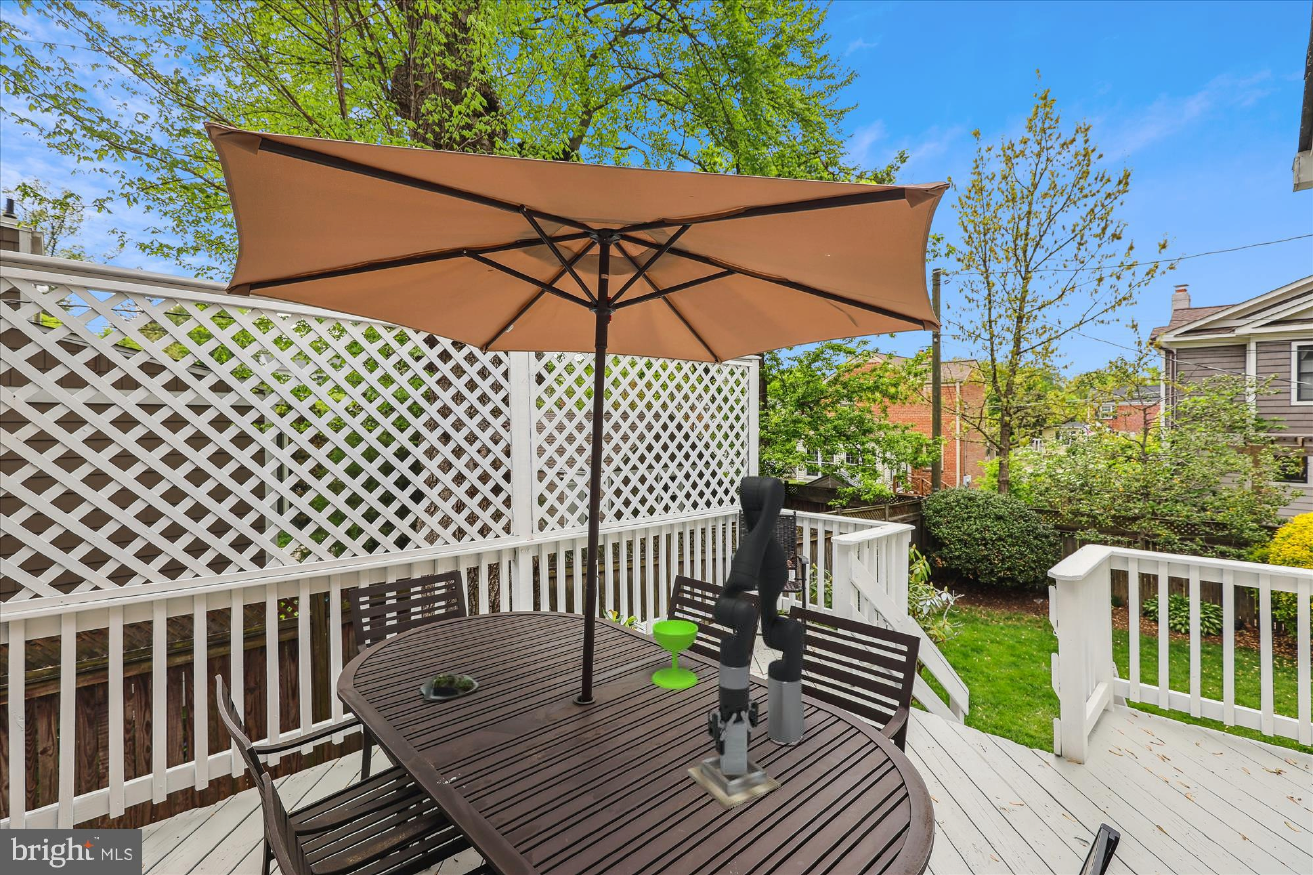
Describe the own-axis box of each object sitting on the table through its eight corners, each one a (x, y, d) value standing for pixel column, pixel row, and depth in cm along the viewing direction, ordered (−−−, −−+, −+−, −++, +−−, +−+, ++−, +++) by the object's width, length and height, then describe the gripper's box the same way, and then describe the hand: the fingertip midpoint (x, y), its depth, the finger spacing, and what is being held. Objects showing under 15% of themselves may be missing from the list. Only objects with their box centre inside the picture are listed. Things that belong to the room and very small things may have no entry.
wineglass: (699, 689, 186) (699, 635, 186) (651, 688, 186) (651, 634, 186) (696, 670, 202) (697, 620, 202) (652, 669, 202) (652, 619, 202)
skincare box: (743, 765, 137) (744, 716, 137) (747, 775, 133) (747, 724, 133) (719, 765, 137) (719, 716, 137) (721, 775, 133) (722, 724, 133)
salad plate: (409, 687, 186) (409, 673, 186) (462, 673, 197) (462, 660, 197) (427, 708, 171) (427, 693, 171) (483, 693, 182) (484, 678, 182)
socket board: (738, 756, 146) (738, 742, 146) (780, 788, 132) (780, 773, 132) (687, 773, 138) (687, 759, 138) (726, 810, 124) (727, 794, 124)
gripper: (747, 670, 142) (746, 735, 142) (700, 681, 135) (700, 750, 135) (766, 681, 136) (766, 749, 135) (719, 693, 128) (718, 765, 128)
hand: (733, 749), depth 135 cm, fingers closed on skincare box, 7 cm apart
